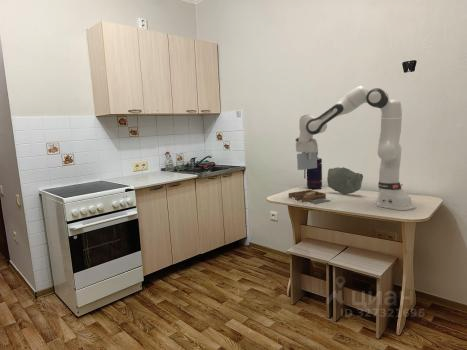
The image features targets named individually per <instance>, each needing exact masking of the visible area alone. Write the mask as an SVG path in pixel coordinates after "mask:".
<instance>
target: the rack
mask: <svg viewBox="0 0 467 350" xmlns="http://www.w3.org/2000/svg"><path fill="white" fill-rule="evenodd" d="M308 192H315V196H312V197H306V198H302V195H305V193H308ZM326 195H327V194H326V193H325V192H321V191H317V190H314V189H306V190H299V191H294V192H288V199H293V198H292V197H294V198H295V199H294V200H295V201H299V200H301V203H306V202H309V201H314V200H320V199H327V196H326Z"/></svg>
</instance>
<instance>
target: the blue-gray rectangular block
mask: <svg viewBox="0 0 467 350" xmlns="http://www.w3.org/2000/svg"><path fill="white" fill-rule="evenodd" d="M308 156H309V154H308V153H302V152H299V153H297V154H296V159H297V170H299V171H304V170H305V169H306V170H307V169H312V168H317V157H318V155H317V153H312V156H311V159H308Z"/></svg>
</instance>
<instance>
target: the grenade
mask: <svg viewBox="0 0 467 350" xmlns="http://www.w3.org/2000/svg"><path fill="white" fill-rule="evenodd" d="M318 154H319V151H318V152H317V168H312V169H305V170H303V171H304V172H303V174H304V175H303V179H306V187H307V188H308V190H313V189H318V190H320V189H322V187H323V164H322V163H323V160H322V159H323V158H320V157H318Z"/></svg>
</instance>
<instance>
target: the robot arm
mask: <svg viewBox="0 0 467 350" xmlns="http://www.w3.org/2000/svg"><path fill="white" fill-rule="evenodd" d="M365 103H367V104H368V105H369V106H371V107H373V108H378V109H380V111H381V115H380V118H381V119H380V134H379V138H378V139H379V140H378V148H377V155H378V157H379V158H380V164H379V165H380V166H379V172H378V173H379V177H378V180H379V181H378V186H377V187H378V192H377V194H378V195H377V198H376V203H375V205H376V207H379V208H384V209H390V210H396V211H410V210H413V209H416V208H417V206H416V204H412V198H411V196H410V195H409V194H408V193H407V192H405V190H404V189H402V187H403V185H404V184H401V182H400V166H401V160H402V159H401V158H402V146H401V144H400V138H401V133H402V121H403V120H402V118H403V117H402V116H403V115H402V113H403V111H402V110H403V109H402V104H401V101H399V100H398V99H395V98H394V99H393V98H391V99H390V98H389V94H388V93H387V92H386V90H384V89H382V88H379V87H374V88H372V89H370V90H369V89H368V87H366V86H364V85H359V86H357V87H355V88H353V89H351V90H350V91H348V92H347V93H345V94H344V95H343V96H342V97H341V98H340V99H339V100H337V102H336V103H334V104H333V105H332V107H330V108H328V109H327V110H326V111H324V113H322V114H321V115H319V116H317V117H315V116H313V115H312V114H305V115H302V116H301V117H300V118H299V123H298V124H299V126H298V127H299V128H298V129H299V136H298V137H297V138H296V137H295V151H296V152H297V153H308V154H309V156H308V159H311V156H312V153H317V152H318V153H319V145H318V142H317V140H316V139H315V138H314V136H315V135H318V134H319V135H320V134H322V133H324V132H326V130H327V127H328V123H329V122H331V121H332V120H333V119H335V118H337V117H339V116H342V115H348V114H349V113H351V112H354V111H355V110H356V109H357V108H359V107H360V106H361V105H363V104H365Z"/></svg>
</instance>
